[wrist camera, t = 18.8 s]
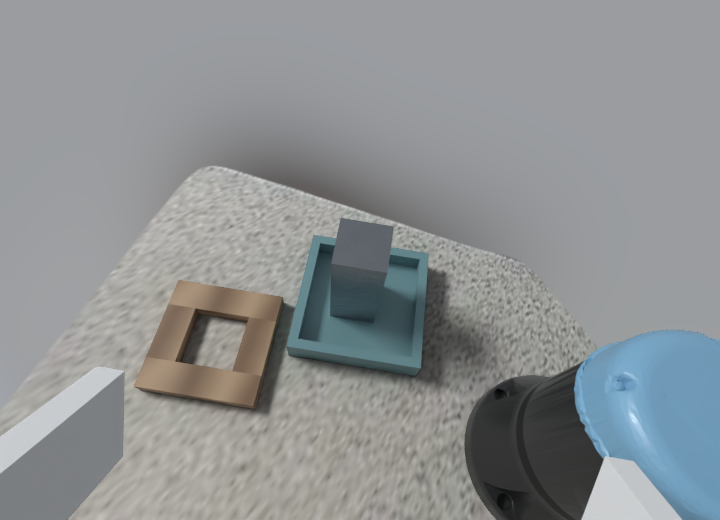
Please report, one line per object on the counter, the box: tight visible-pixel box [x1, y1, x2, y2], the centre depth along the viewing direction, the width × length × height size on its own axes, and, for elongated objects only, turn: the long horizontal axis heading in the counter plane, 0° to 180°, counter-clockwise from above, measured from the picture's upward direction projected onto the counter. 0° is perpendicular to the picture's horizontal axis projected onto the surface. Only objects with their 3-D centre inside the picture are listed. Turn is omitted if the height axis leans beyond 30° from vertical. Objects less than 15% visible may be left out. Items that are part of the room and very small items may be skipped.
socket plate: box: [134, 280, 284, 409], centre depth 44 cm, size 12×12×2 cm
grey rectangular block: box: [330, 218, 393, 323], centre depth 42 cm, size 5×5×12 cm
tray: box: [286, 235, 429, 376], centre depth 46 cm, size 14×14×3 cm
